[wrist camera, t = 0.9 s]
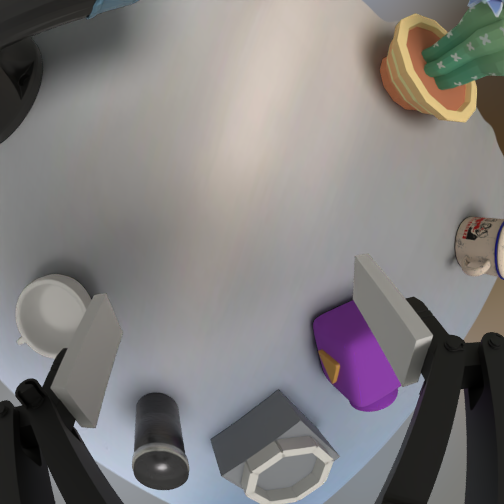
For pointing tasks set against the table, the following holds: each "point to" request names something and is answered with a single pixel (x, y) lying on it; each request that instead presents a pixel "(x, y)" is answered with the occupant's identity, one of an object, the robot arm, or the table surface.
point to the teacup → (50, 313)
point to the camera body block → (274, 453)
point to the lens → (159, 444)
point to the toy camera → (354, 359)
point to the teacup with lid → (481, 246)
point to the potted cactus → (445, 61)
